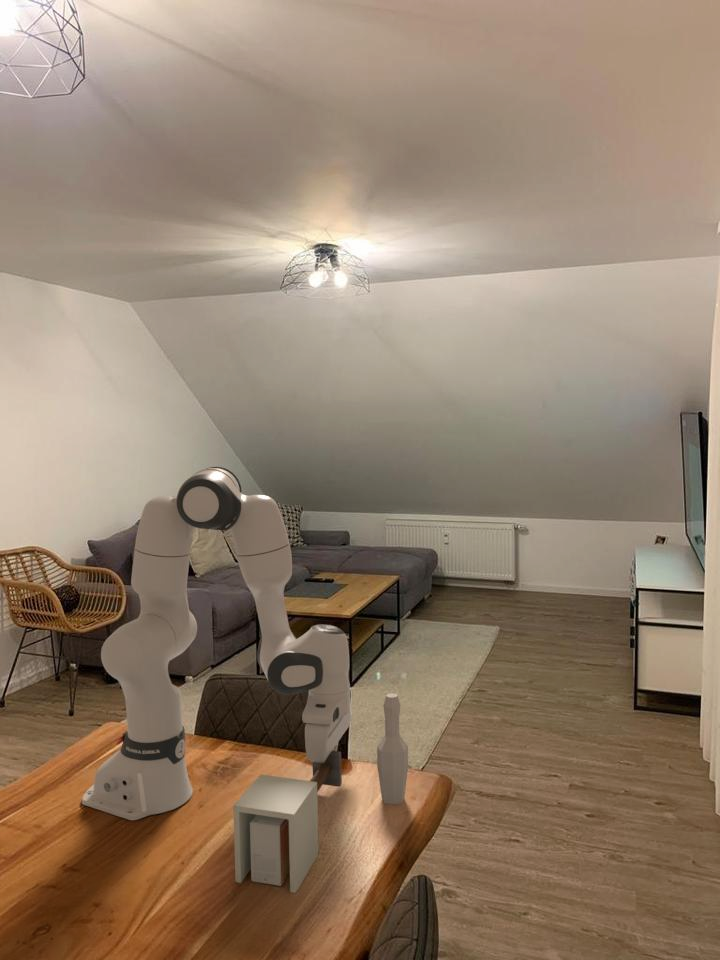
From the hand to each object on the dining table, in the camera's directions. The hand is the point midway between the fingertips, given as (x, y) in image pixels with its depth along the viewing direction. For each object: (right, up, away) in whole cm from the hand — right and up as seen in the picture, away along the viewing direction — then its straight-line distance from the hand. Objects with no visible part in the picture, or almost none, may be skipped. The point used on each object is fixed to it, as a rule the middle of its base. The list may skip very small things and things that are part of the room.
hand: (330, 763), depth 150 cm
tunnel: (-8, -7, -28) cm, 30 cm away
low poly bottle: (+13, -6, -5) cm, 15 cm away
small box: (-9, -7, -28) cm, 31 cm away
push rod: (-4, -4, -13) cm, 15 cm away
